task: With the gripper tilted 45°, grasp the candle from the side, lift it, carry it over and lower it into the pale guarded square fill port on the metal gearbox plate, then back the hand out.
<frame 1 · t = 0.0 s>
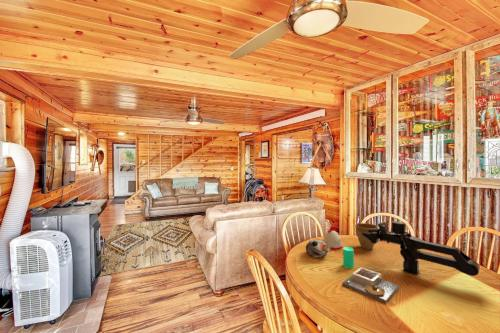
hand: (365, 232, 148), 17 cm above the table, tool horizontal, fingers open, 9 cm apart
plant pot: (366, 247, 165), on the table
lucky cat figurine: (318, 255, 153), on the table
candle: (348, 266, 137), on the table
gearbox: (366, 282, 118), on the table
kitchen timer: (332, 246, 168), on the table
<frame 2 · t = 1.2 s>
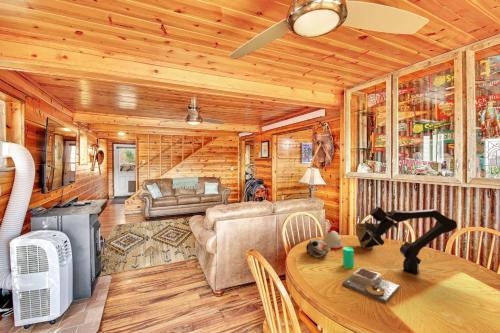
hand: (362, 244, 135), 14 cm above the table, tool tilted 45°, fingers open, 9 cm apart
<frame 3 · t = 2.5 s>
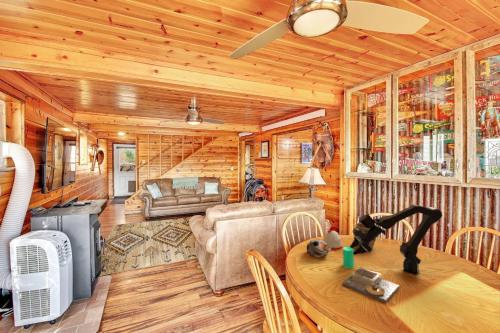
hand: (351, 250, 136), 9 cm above the table, tool tilted 45°, fingers open, 9 cm apart
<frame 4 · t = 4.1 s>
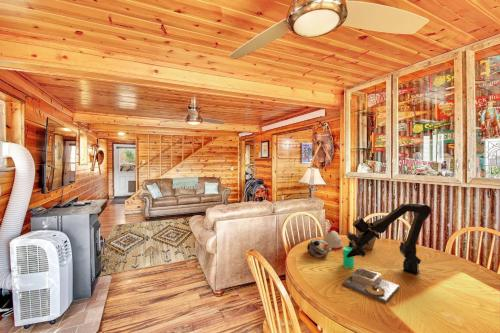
hand: (346, 254, 137), 7 cm above the table, tool tilted 45°, fingers closed on candle, 5 cm apart
candle: (348, 266, 137), on the table, touching gripper
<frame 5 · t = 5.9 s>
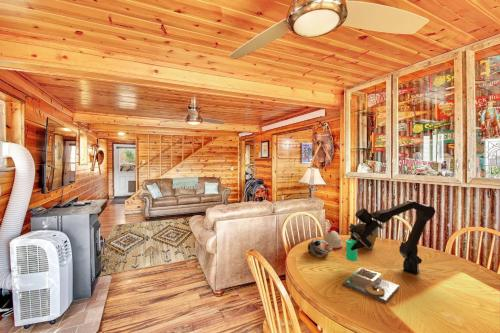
hand: (349, 247, 131), 13 cm above the table, tool tilted 45°, fingers closed on candle, 5 cm apart
candle: (351, 259, 131), point 6 cm above the table, touching gripper
when the fingers open (9 cm above the table, at t = 8.2 s): candle drops 1 cm, resting on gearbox.
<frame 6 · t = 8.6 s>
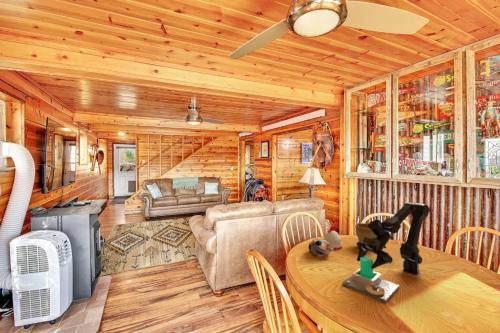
hand: (364, 264, 117), 10 cm above the table, tool tilted 45°, fingers open, 9 cm apart
candle: (366, 279, 118), point 1 cm above the table, touching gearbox
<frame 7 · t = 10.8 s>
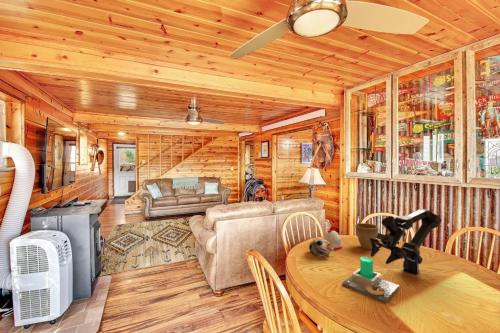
hand: (378, 260, 120), 11 cm above the table, tool tilted 45°, fingers open, 9 cm apart
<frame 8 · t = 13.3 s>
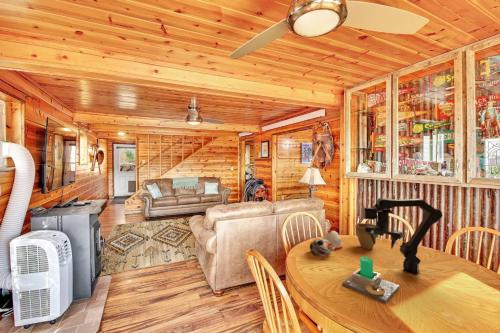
hand: (383, 246, 133), 13 cm above the table, tool pointing down, fingers open, 9 cm apart
at the end: candle 0.4 cm off-centre on the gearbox, point 1.3 cm above the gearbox's base; candle tilted 0°; the gripper is holding nothing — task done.
